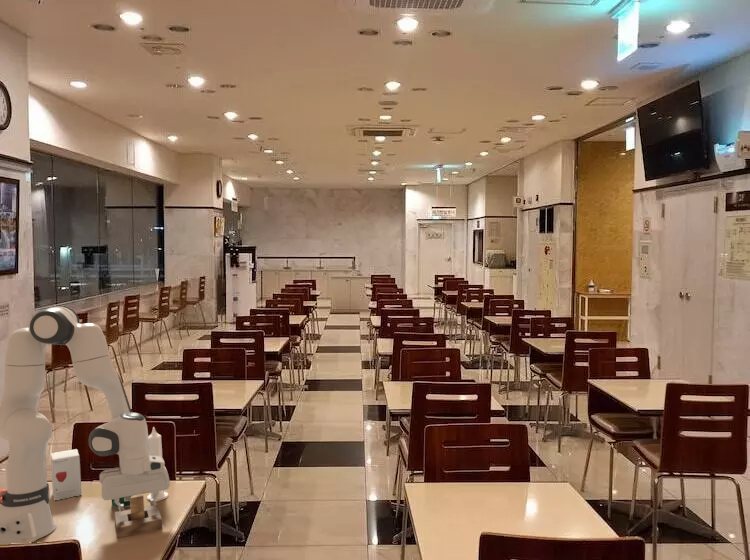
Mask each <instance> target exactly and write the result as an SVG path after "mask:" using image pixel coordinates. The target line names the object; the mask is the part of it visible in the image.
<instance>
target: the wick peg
mask: <svg viewBox="0 0 750 560" xmlns="http://www.w3.org/2000/svg"><path fill="white" fill-rule="evenodd" d="M144 500H145V499H144V495H143V494H139V495H134V496H132V497H130V506H129V507H130V510H131V521H133V520H138V519H143V518H145V514H144V507H145V503H144V502H145V501H144Z"/></svg>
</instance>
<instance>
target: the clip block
mask: <svg viewBox="0 0 750 560" xmlns="http://www.w3.org/2000/svg"><path fill="white" fill-rule="evenodd" d="M144 514H145V518H143V519H138V520H133V521H131V509H124V511H121V512H119V511H115V512H114V519H115V520H114V521H115V529H116V536H117V538H122V537H127V536H128V537H129V536H132V535H138V534H142V533H147V532H148V533H149V532H152V531H157V530H162V529H163V520H162V519H163V518H162V516H161V512H160V508H159V506H158V504H156V505H153V506H151V505H147V506H144Z"/></svg>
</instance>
